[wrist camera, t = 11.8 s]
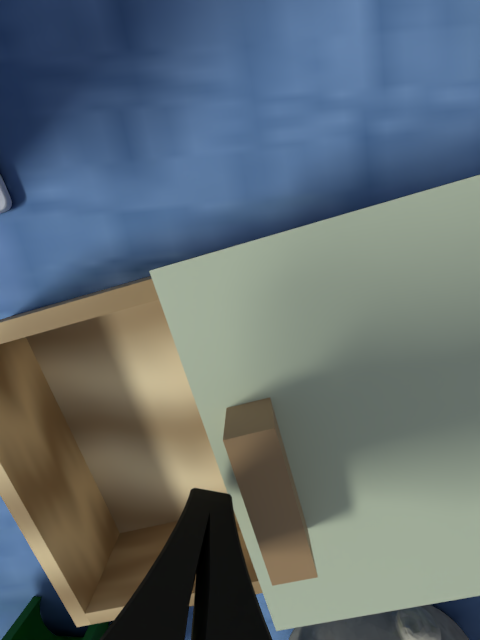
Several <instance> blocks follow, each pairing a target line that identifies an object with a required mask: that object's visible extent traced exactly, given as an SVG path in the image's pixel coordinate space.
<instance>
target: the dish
mask: <svg viewBox="0 0 480 640" xmlns="http://www.w3.org/2000/svg"><path fill="white" fill-rule="evenodd" d="M289 640H469V638H468V637H467V636H466V635H465V633H464V632H463V631H462V629H461V628H460V627H459V626H458V625H457V624H456V623H455V622H454V621H453V620H452V619H451V618H450V617H449V616H447V615H446V614H445V613H443V612H442V611H440V610H439V609H437V608H435V607H433V606H431V605H430V604H429V605H423V606H418V607H412V608H406V609H400V610H394V611H389V612H383V613H377V614H371V615H366V616H360V617H354V618H348V619H343V620H337V621H331V622H325V623H320V624H314V625H308V626H302V627H296V628H295V629H294V630H293V632H292V634H291V636H290V638H289Z"/></svg>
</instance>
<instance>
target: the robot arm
mask: <svg viewBox="0 0 480 640" xmlns="http://www.w3.org/2000/svg"><path fill="white" fill-rule="evenodd" d="M11 205H12V201H11V198H10V195H9V193H8V191H7V188H6V186H5V184H4V182H3V179H2V177H1V175H0V213H3V212H6V211H8V210H9V209H10V208H11ZM195 577H196V583H195V596H194V609H193V621H192V634H191V640H272V638H271V635H270V632H269V630H268V627H267V625H266V622H265V620H264V617H263V614H262V611H261V609H260V606H259V603H258V600H257V597H256V594H255V591H254V588H253V585H252V582H251V579H250V576H249V572H248V569H247V566H246V562H245V558H244V555H243V551H242V547H241V544H240V540H239V535H238V531H237V526H236V521H235V516H234V510H233V503H232V497H231V495H230V494H227V493H222V492H216V491H210V490H205V489H199V488H193V489H191V490H190V494H189V497H188V500H187V502H186V505H185V507H184V509H183V512H182V514H181V516H180V518H179V520H178V522H177V524H176V526H175V528H174V529H173V531H172V533H171V535H170V537H169V538H168V540H167V542H166V544H165V546H164V547H163V549H162V551H161V552H160V554H159V555H158V557H157V559H156V560H155V562H154V563H153V565H152V567H151V568H150V570H149V571H148V573H147V575H146V576H145V578H144V579H143V581H142V582H141V583H140V585H139V586H138V588H137V589H136V591H135V592H134V594H133V595H132V597H131V598H130V599H129V601H128V602H127V603H126V605H125V606H124V608H123V609H122V610H121V612H120V613H119V614H118V616H117V617H116V618H115V620H114V621H113V622H112V624H111V625H110V626H109V628H108V629H107V630H106V631H105V633H104V634H103V635H102V637H101V638H100V639H99V640H184V639H185V632H186V625H187V618H188V611H189V604H190V599H191V594H192V590H193V586H194V581H195Z"/></svg>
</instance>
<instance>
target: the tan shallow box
mask: <svg viewBox="0 0 480 640" xmlns="http://www.w3.org/2000/svg"><path fill="white" fill-rule="evenodd" d="M193 488H199V489H205V490H210V491H216V492H222V493H227V490H226V487H225V484H224V481H223V479H222V476H221V473H220V470H219V467H218V464H217V462H216V459H215V456H214V453H213V450H212V447H211V445H210V442H209V439H208V436H207V433H206V430H205V428H204V425H203V422H202V419H201V416H200V414H199V411H198V408H197V405H196V402H195V399H194V397H193V394H192V391H191V388H190V385H189V382H188V380H187V377H186V374H185V371H184V368H183V365H182V363H181V360H180V357H179V354H178V351H177V348H176V346H175V343H174V340H173V337H172V334H171V331H170V329H169V326H168V323H167V320H166V317H165V314H164V312H163V309H162V306H161V303H160V300H159V297H158V295H157V292H156V289H155V286H154V283H153V280H152V278H151V276H149V277H146V278H142V279H139V280H135V281H132V282H128V283H125V284H121V285H118V286H114V287H111V288H108V289H104V290H101V291H97V292H94V293H90V294H87V295H83V296H80V297H76V298H73V299H69V300H66V301H63V302H59V303H56V304H52V305H49V306H45V307H42V308H38V309H35V310H31V311H28V312H25V313H21V314H18V315H14V316H11V317H8V318H4V319H1V320H0V495H1V497H2V499H3V501H4V502H5V504H6V506H7V507H8V509H9V511H10V513H11V514H12V516H13V518H14V520H15V521H16V523H17V525H18V526H19V528H20V530H21V532H22V533H23V535H24V537H25V539H26V540H27V542H28V544H29V545H30V547H31V549H32V551H33V552H34V554H35V556H36V557H37V559H38V561H39V563H40V564H41V566H42V568H43V570H44V571H45V573H46V575H47V576H48V578H49V580H50V582H51V583H52V585H53V587H54V589H55V590H56V592H57V594H58V595H59V597H60V599H61V601H62V602H63V604H64V606H65V608H66V609H67V611H68V613H69V614H70V616H71V618H72V620H73V621H74V623H75V625H76V627H81V626H86V625H92V624H97V623H103V622H108V621H113V620H115V618H116V617H117V616H118V614H119V613H120V612H121V610H122V609H123V608H124V606H125V605H126V603H127V602H128V601H129V599H130V598H131V597H132V595H133V594H134V592H135V591H136V589H137V588H138V586H139V585H140V583H141V582H142V581H143V579H144V578H145V576H146V575H147V573H148V571H149V570H150V568H151V567H152V565H153V563H154V562H155V560H156V559H157V557H158V555H159V554H160V552H161V551H162V549H163V547H164V546H165V544H166V542H167V540H168V538H169V537H170V535H171V533H172V531H173V529H174V528H175V526H176V524H177V522H178V520H179V518H180V516H181V514H182V512H183V509H184V507H185V505H186V502H187V500H188V497H189V494H190V490H191V489H193ZM227 494H228V493H227ZM234 516H235V521H236V526H237V531H238V535H239V540H240V544H241V547H242V551H243V555H244V558H245V562H246V566H247V569H248V572H249V576H250V579H251V582H252V585H253V588H254V591H255V594H259V593H263V592H262V589H261V586H260V583H259V581H258V578H257V575H256V572H255V569H254V566H253V564H252V561H251V558H250V555H249V552H248V549H247V547H246V544H245V541H244V538H243V535H242V532H241V530H240V527H239V524H238V521H237V518H236V515H235V513H234ZM195 583H196V577H195V581H194V586H193V590H192V594H191V599H190V604H189V606H194V596H195Z"/></svg>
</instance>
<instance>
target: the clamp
mask: <svg viewBox="0 0 480 640" xmlns="http://www.w3.org/2000/svg"><path fill="white" fill-rule="evenodd" d="M40 601H41V597H36V596H34V597H33V598H32V600H31V601H30V602H29V604H28V605H27V606H26V608H25V609H24V610H23V612H22V613H21V614H20V616H19V617H18V618H17V620H16V621H15V622H14V624H13V625H12V626H11V628H10V629H9V630H8V632H7V633H6V634H5V636H4V637H3V639H2V640H99V639H100V638H101V637H102V635H103V634H104V633H105V631H106V630H107V629H108V625H109V621H108V622H103V623H97V624H92V625H89V627H88V629H87V631H86V633H85V635H84V637H70V636H56V635H54V634H53V633H52V632H50V631H49V630H48V628H47V627H46V626H45V624H44V623H43V621H42V618H41V614H40Z"/></svg>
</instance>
